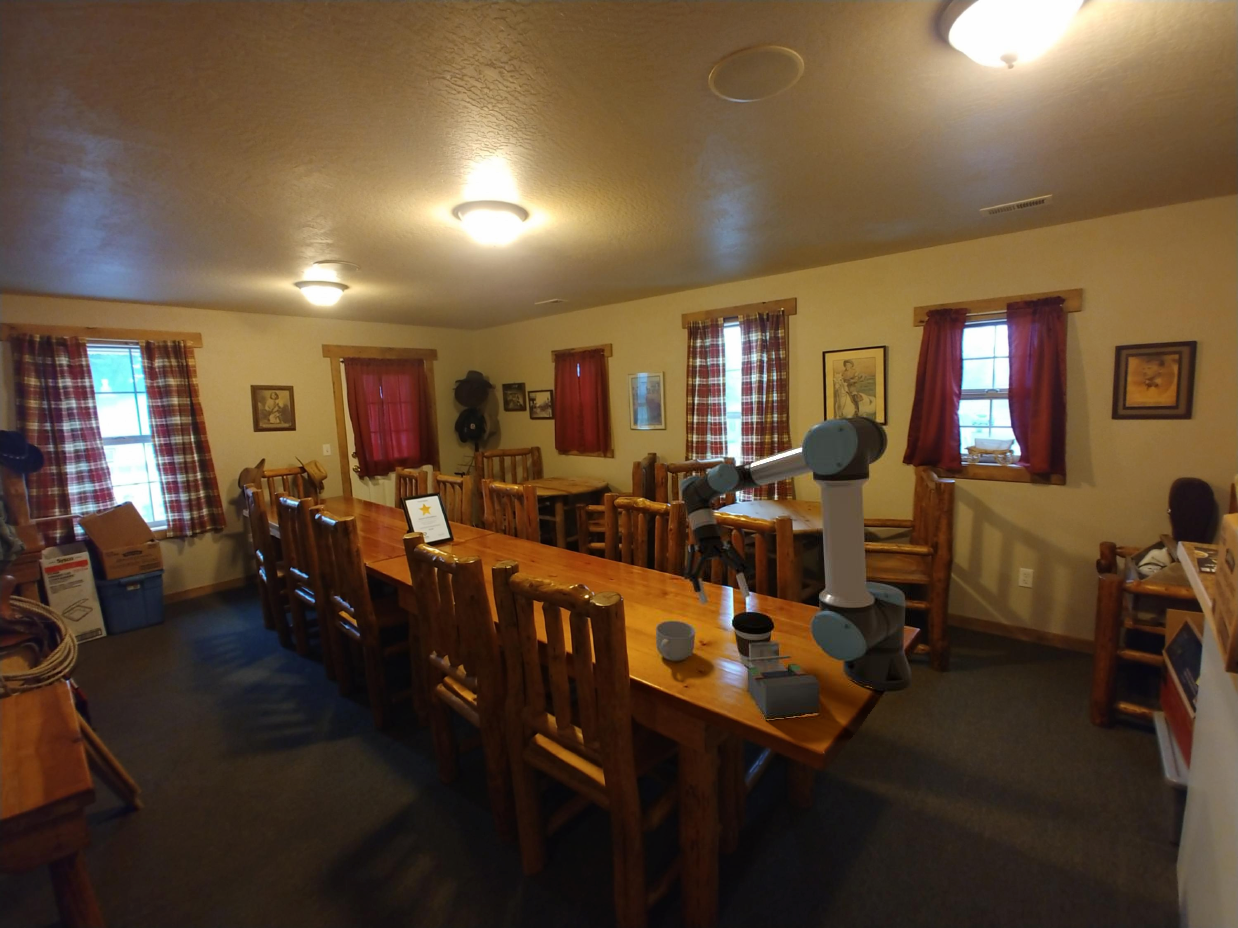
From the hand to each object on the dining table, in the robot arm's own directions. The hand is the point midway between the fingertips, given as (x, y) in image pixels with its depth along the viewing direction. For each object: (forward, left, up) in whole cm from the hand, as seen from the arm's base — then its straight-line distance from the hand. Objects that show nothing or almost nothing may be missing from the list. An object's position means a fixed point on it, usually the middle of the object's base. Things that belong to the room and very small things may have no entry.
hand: (725, 600), depth 140 cm
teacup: (+11, -11, -15) cm, 22 cm away
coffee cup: (+1, +8, -15) cm, 17 cm away
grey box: (+14, +21, -15) cm, 30 cm away
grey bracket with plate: (+8, +15, -14) cm, 22 cm away
